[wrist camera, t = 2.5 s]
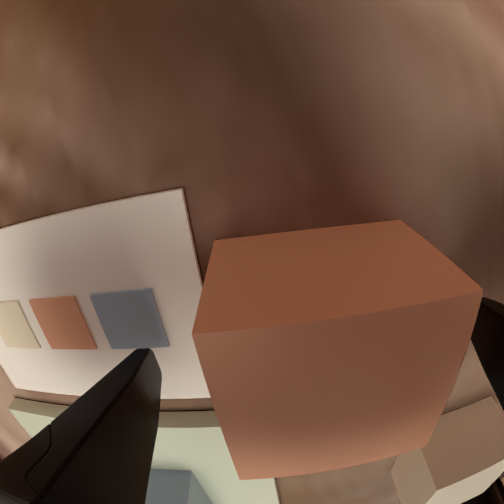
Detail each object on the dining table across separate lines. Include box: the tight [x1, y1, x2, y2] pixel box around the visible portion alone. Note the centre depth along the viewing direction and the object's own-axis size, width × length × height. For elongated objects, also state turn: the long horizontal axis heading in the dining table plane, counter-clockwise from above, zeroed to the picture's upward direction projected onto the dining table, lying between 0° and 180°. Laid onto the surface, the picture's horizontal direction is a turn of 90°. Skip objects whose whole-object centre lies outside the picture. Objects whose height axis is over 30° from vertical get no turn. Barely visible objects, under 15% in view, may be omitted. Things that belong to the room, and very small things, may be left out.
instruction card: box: [0, 188, 211, 399], centre depth 9 cm, size 10×7×1 cm
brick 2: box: [390, 396, 504, 504], centre depth 11 cm, size 5×5×4 cm
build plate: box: [9, 398, 281, 504], centre depth 13 cm, size 12×12×1 cm
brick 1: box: [192, 220, 484, 480], centre depth 7 cm, size 5×5×4 cm
